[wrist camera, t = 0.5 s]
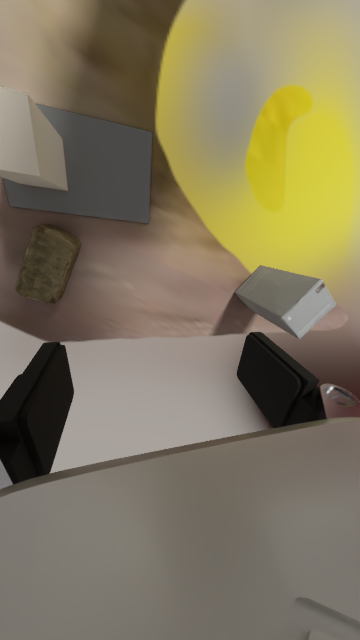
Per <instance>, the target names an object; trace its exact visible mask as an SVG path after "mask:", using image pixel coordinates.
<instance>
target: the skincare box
mask: <svg viewBox="0 0 360 640" xmlns="http://www.w3.org/2000/svg"><path fill="white" fill-rule="evenodd" d="M235 294H236V295H237V296H238V297H239V298H240V299H241V300H242V301H243V302H244V303H245V304H246V306H247V307H248V308H249V309H250V310H252V311H254V312H255V313H257V314H259V315H260V316H262V317H263V318H265V319H267V320H268V321H270V322H272V323H273V324H275V325H277V326H278V327H280V328H281V329H283V330H285V331H286V332H288V333H290V334H291V335H293V336H295V337H296V338H298V339H300V338H301V337H302V336H303V335H305V334H306V333H307V332H308V331H309V330H310V329H311V328H312V327H313V326H314V325H315V324H316V323H317V322H318V321H319V320H321V319H322V318H323V317H324V316H325V315H326V314H327V313H328V312H329V311H330V310H331V309H332V308H334V307H335V306H336V303H335V302H334V300H333V298H332V296H331V295H330V293H329V291H328V289H327V288H326V286H325V284H324V282H323V281H322V279H317V278H313V277H309V276H304V275H299V274H295V273H291V272H287V271H283V270H278V269H274V268H270V267H265V266H259V267H258V268H257V269H256V270H255V271H254V272H253V273H252V275H251V276H250V277H249V278H248V279H247V280H246V281H245V282H244V283H243V284H242V285H241V286H240V287H239V288H238V289H237V290H236V291H235Z"/></svg>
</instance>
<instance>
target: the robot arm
mask: <svg viewBox="0 0 360 640" xmlns="http://www.w3.org/2000/svg"><path fill="white" fill-rule="evenodd" d="M237 376H238V379H239V380H240V382H241V383H242V384H243V386H244V387H245V388H246V390H247V391H248V393H249V394H250V396H251V397H252V399H253V400H254V401H255V403H256V404H257V406H258V407H259V408H260V410H261V411H262V413H263V414H264V416H265V417H266V418H267V420H268V421H269V423H270V424H271V425H272V427H273V429H268V430H262V431H257V432H252V433H246V434H241V435H236V436H231V437H227V438H221V439H216V440H210V441H205V442H200V443H195V444H190V445H184V446H180V447H174V448H169V449H164V450H160V451H154V452H149V453H144V454H140V455H134V456H130V457H124V458H119V459H114V460H109V461H105V462H100V463H96V464H91V465H86V466H82V467H77V468H72V469H68V470H63V471H59V472H55V473H51V474H49V473H50V471H51V468H52V465H53V461H54V458H55V455H56V451H57V448H58V445H59V441H60V438H61V435H62V432H63V429H64V425H65V422H66V419H67V416H68V412H69V409H70V406H71V403H72V399H73V394H74V390H73V389H74V388H73V384H72V378H71V373H70V368H69V363H68V358H67V353H66V348H65V346H64V345H61V344H60V343H59V342H48V343H43V344H42V346H41V347H40V349H39V350H38V352H37V353H36V355H35V356H34V358H33V359H32V361H31V362H30V364H29V365H28V366H27V368H26V369H25V371H24V372H23V374H20V375H19V376H17V377H16V379H15V380H14V381H13V383H12V384H11V386H10V387H9V388H8V390H7V391H6V393H5V394H4V396H3V397H2V398H1V400H0V640H360V402H359V400H358V399H357V398H356V397H355V396H354V395H353V394H351V393H350V392H349V391H347V390H345V389H343V388H341V387H338V386H336V385H332V384H324V385H322V386H321V387H320V388H318V387H317V384H318V382H319V380H318V379H317V378H316V377H315V376H314V375H313V374H311V373H310V372H309V371H308V370H306V369H305V368H304V367H303V366H302V365H300V364H299V363H298V362H297V361H296V360H294V359H293V358H292V357H291V356H289V355H288V354H287V353H286V352H285V351H283V350H282V349H281V348H280V347H279V346H277V345H276V344H275V343H273V341H271V340H270V339H269V338H268V337H266V336H265V335H264V334H263V333H261V332H251V333H249V335H247V337H246V340H245V343H244V347H243V351H242V355H241V359H240V363H239V366H238V370H237Z"/></svg>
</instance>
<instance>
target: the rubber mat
mask: <svg viewBox="0 0 360 640" xmlns="http://www.w3.org/2000/svg"><path fill="white" fill-rule="evenodd" d="M36 105H37V107H38V108H39V109H40V111H41V112H42V113H43V114H44V116H45V117H46V118H47V120H48V121H49V122H50V123H51V125H52V126H53V127H54V129H55V130H56V131H57V132H58V134H59V135H60V136H61V138H62V139H63V146H64V155H65V164H66V173H67V182H68V191H64V190H57V189H51V188H44V187H37V186H30V185H24V184H19V183H17V182H14V181H11V180H8V179H5V178H3V179H4V184H5V188H6V193H7V197H8V202H9V206H10V207H18V208H27V209H35V210H43V211H51V212H59V213H67V214H76V215H84V216H92V217H100V218H108V219H116V220H124V221H133V222H141V223H149V207H150V181H151V155H152V132H150V131H146V130H142V129H138V128H134V127H130V126H126V125H122V124H117V123H113V122H109V121H105V120H101V119H97V118H93V117H89V116H85V115H81V114H76V113H72V112H68V111H64V110H60V109H56V108H52V107H48V106H44V105H39V104H36Z"/></svg>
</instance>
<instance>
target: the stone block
mask: <svg viewBox="0 0 360 640" xmlns="http://www.w3.org/2000/svg"><path fill="white" fill-rule="evenodd" d="M80 246H81V243H80V242H79V241H78V239H77V238H76V237H74V236H72V235H70V234H68V233H67V232H65V231H63V230H60V229H58V228H56V227H55V226H53V225H49V224H42V225H39V226H38V227H34V228H33V233H32V237H31V240H30V242H29V244H28V247H27V251H26V254H25V257H24V260H23V263H22V266H21V270H20V273H19V278H18V282H17V285H16V291H17V292H18V293H19V294H20V295H22V296H25V297H28V298H30V299H33V300H38V301H40V302H45V303H48V302H50V303H56V302H57V301H58V300H59V299H60V298H61V297H62V294H63V291H64V289H65V286H66V283H67V281H68V278H69V275H70V272H71V269H72V267H73V264H74V262H75V260H76V258H77V255H78V253H79V249H80Z"/></svg>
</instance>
